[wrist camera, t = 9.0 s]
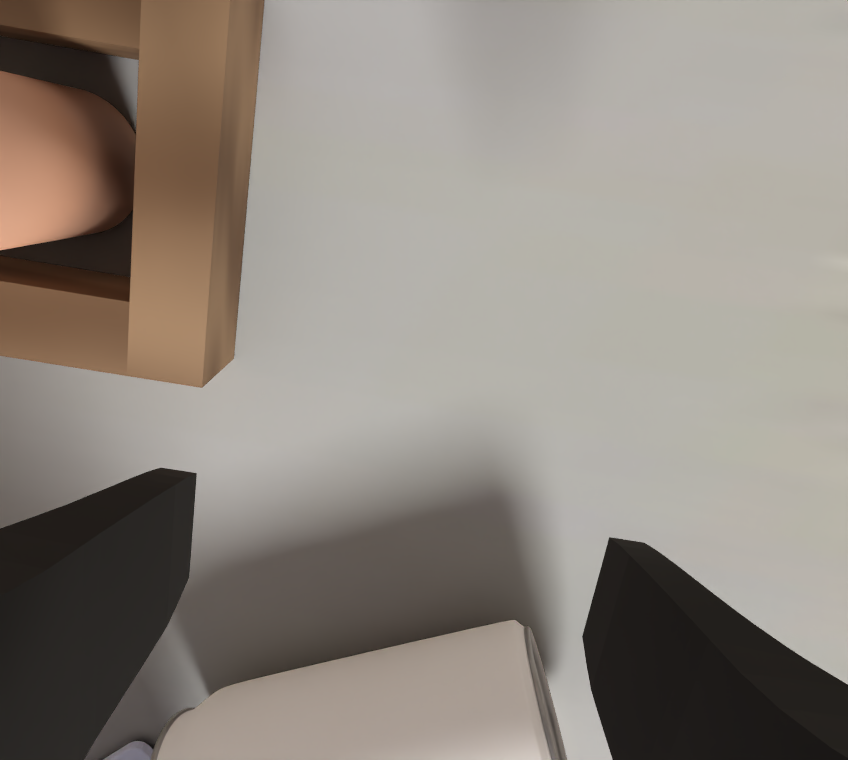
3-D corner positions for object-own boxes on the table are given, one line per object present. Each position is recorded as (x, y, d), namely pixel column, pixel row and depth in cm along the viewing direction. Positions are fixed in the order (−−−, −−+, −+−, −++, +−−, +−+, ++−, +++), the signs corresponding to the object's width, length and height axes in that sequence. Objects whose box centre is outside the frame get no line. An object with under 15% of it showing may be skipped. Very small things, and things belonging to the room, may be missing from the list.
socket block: (233, 358, 21) (201, 387, 18) (-95, 305, 21) (-179, 326, 18) (264, 0, 18) (232, -32, 15) (-117, -68, 18) (-222, -114, 15)
